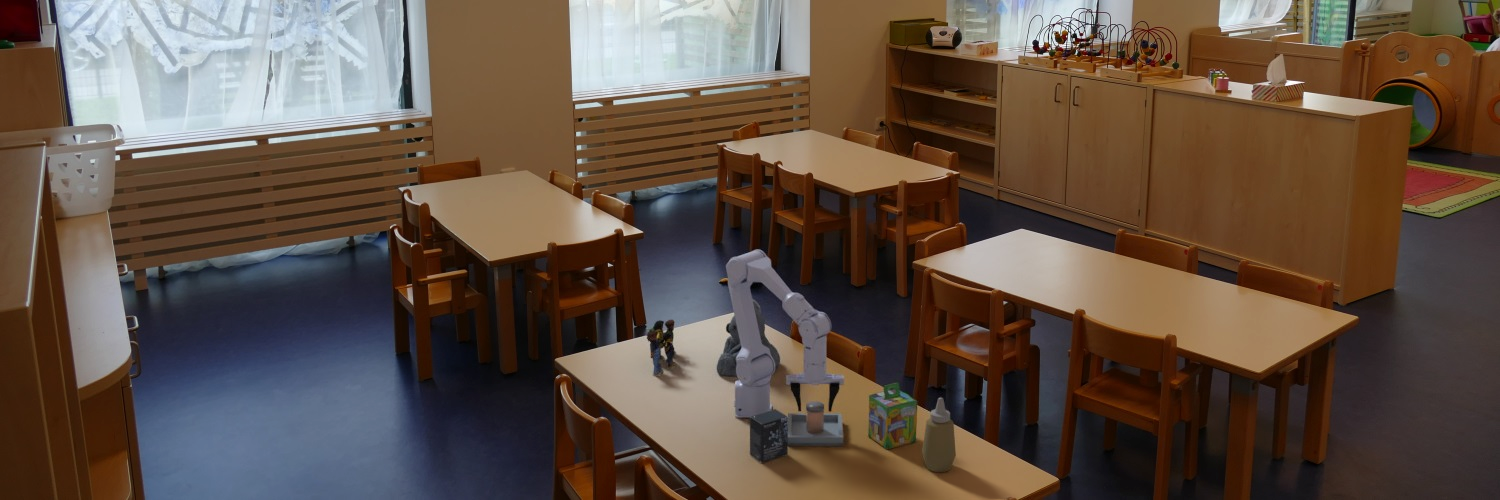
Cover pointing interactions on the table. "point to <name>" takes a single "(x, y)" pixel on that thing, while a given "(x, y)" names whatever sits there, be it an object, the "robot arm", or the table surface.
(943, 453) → the squeeze bottle
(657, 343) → the doll family
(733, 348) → the koala plush
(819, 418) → the shaker
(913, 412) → the chalk box
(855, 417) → the table surface
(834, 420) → the tray
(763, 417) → the box
